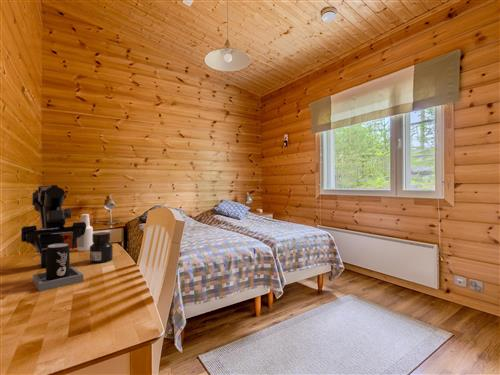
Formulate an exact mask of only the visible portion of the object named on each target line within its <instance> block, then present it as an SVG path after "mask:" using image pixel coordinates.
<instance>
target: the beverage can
mask: <svg viewBox="0 0 500 375" xmlns="http://www.w3.org/2000/svg"><path fill="white" fill-rule="evenodd" d="M70 249H71V248H70V246H69V244H68V243H66V242H64V243H58V244H52V245H48V248H47V250H46V267H45V272H46V280H47V281H51V280H55V279H60V278H65V277H69V275H70V266H71V265H70Z"/></svg>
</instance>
